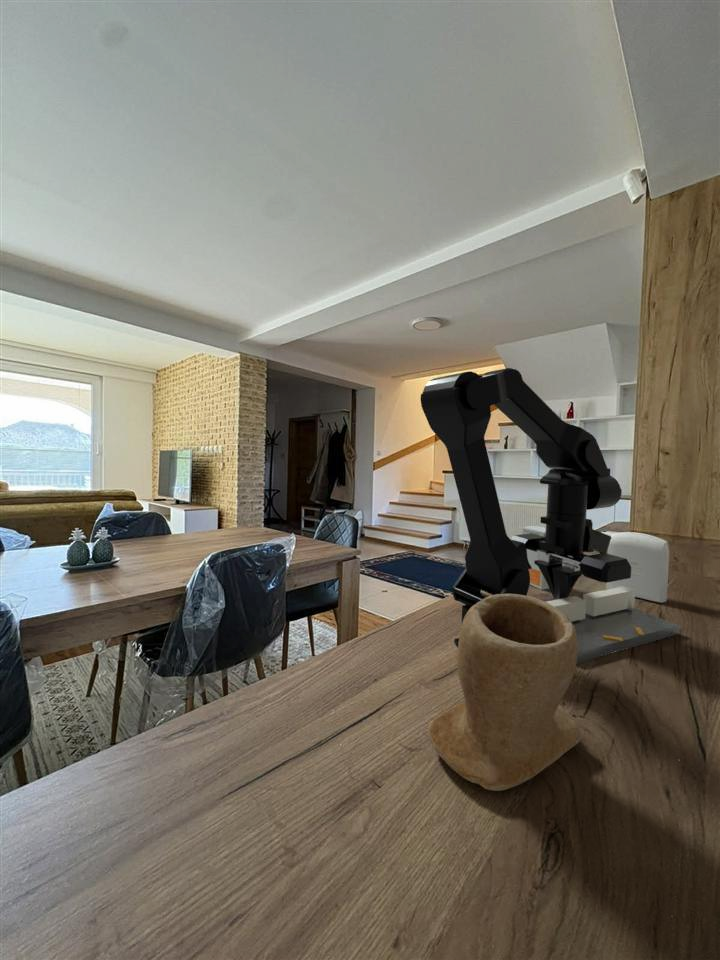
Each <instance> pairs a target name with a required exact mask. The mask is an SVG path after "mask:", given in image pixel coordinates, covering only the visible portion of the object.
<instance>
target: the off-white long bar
mask: <svg viewBox="0 0 720 960" xmlns="http://www.w3.org/2000/svg"><path fill="white" fill-rule="evenodd" d="M635 598H636V597H635V590H633V589H631V588H628V587H624V586H623V587H617V588H613V589H608V590H607V589H603V590H598V591H594V592H588V593H583V597H582V599H584V600H586V614H589V615H591V616H598V615H602V614H606V613H611V612H615V611H619V610H624V609H631V608H633V609H634V608H635V602H636V601H635Z"/></svg>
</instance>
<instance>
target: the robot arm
mask: <svg viewBox="0 0 720 960" xmlns="http://www.w3.org/2000/svg"><path fill="white" fill-rule="evenodd" d="M420 404H421V410H422V411H423V413H424V416H425V418H426V421H427V423H428V426H429V427H430V429H431V431H432V432H433V433H434V434H435V435H436V436H437V437H438V439H439V440H440V441H441V442H442V443H443V444H444V446H445V447H446V452H447V454H448V459H449V463H450V466H451V470H452V473H453V474H452V475H453V478H454V482H455V486H456V490H457V493H458V496H459V497H458V498H459V500H460V504H461V508H462V512H463V516H464V521H465V525H466V527H467V531H468V536H469V541H470V542H469V544H468V548H467V550H466V552H465V556H464V560H465V561H464V562H465V568H464V570H463V571H462V573H461V574H460V576H459V577H458V579H457V580H456V581H455V583H454V584H453V585H452V587H451V592H452V596H453V600H454V601H455V602H460V603H462V604H464V605H462V606H461V623H462V622H463V619H464V617H465V615H466V614H467V612H468V610H469V609H470V608H471V607H472V606H473V605H475V604H476V603H478V602H479V601H481V600H482V599H484V598H486V597H489V596H490V595H491V596H492V595H496V594H518V595H525V596H528V592H529V588H530V586H531V585H530V573H529V570H528V569H531V568H532V567H531V565H530V564H529V561H528V557H527V549H529V550H532V551H535V552H538V560H536V561H534V564H535V565H537V566H538V567H539V569H540V571H541V573H542V574H543V576H544V578H545V580H546V582H547V584H548V586H549V588H548V589H549V591H550V593H551V595H552V597H553V600H557V599H562V598H568V597H570V594H571V592H572V591H573V588H574V586H575V585H576V583H577V581H578V580H579V579H580V577H582V576H583V577H584V578H588V579H591V580H594V581H597V582H600V583H604V584H606V583H608V582H613V581H618V580H623V579H629V578H631V565H630V563H629V562H628V560H627V559H625V558H621V557H618V556H614V555H610V554H608V547H609V543H610V540H611V535H608V534H606V533H604V532H601V531H598V530H596V529H593V526H594V524H593V519H590V518H587V510H589V511H590V510H596V509H607V508H611V507H614V506H615V505H616V504H617V503H618V502H619V501H620V499H621V498H622V497H621V496H622V493H623V492H622V488H621V484H620V483H619V481H618V480H617V479H616V478H615V477H614V476H611V468H608V466H607V464H606V462H605V458H604V455H603V453H602V451H601V447H600V446H599V443H598V441H597V439H596V438H595V436H594V435H593V434H592V433H590V432H588V431H587V430H586V429H585V428H583V427H580V426H577V425H575V424H571V423H568V422H566V421H564V420H563V419H562V418H560V416H559V415H557V413H555V411H554V410H552V408H551V407H550V406H549V405H548V404H547V403H546V402H545V401H544V400H543V399H542V398H541V397H540V396H539V395H538V394H537V393H536V392H535V391H534V390H533V389H532V388H531V387H530V386H529V385H528V384H527V383H526V382H525V381H524V380H523V376H522V374H521V371H519V370H518V369H516V368H512V367H507V368H502V369H501V368H500V369H496V370H491V371H487V372H485V373H484V374H481V375H480V374H478V373H477V372H473V371H470V370H469V371H464V372H460V373H455V374H449V375H444V376H440V377H435V378H432V379H431V380H429V381H428V382H427V383H426V384H425V385H424V387H423V390H422V392H421V393H420ZM491 406H494V407H496V408H497V409H498V411H500V412H502V413H503V414H504V415H505V416H506V417H507V418H508V419H509V420H510V421H511V422H512V423H513V424H515V426H517V427H518V428H519V429H520V430H521V431H522V432H523V433H524V434H526V436H528V437H529V438H530V439H531V440H532V442H534V444H535V445H536V446H535V452H536V454H537V456H538V457H539V458H540V460H541V461H542V463H543V464H544V465H545V466H546V468H549V470H548V472H547V473H546V474H545V475H543V476H542V477H541V478H540V480H539V483H540V484H541V485H547V498H546V499H547V500H546V502H547V503H546V516H544V515H543V516H540V524H543V525H545V528H546V533H545V537H544V536H540V535H536V534H533V533H530V534H522V533H520V534H514V535H512V536H511V538H510V537H509V536H508V534H507V531H506V527H505V522H504V518H503V514H502V510H501V505H500V500H499V497H498V493H497V488H496V483H495V479H494V475H493V472H492V467H491V462H490V459H489V458H490V457H489V454H488V450H487V445H486V442H485V441H486V440H485V436H486V433H487V430H488V427H489V423H490V421H491V417H492V413H491V411H492V410H491ZM594 552H597V554H596V553H595V554H589V553H594ZM585 553H588V554H589V555H588V554H585ZM482 591H483V592H485V593H487V594H484V593H483V592H482ZM488 594H490V595H488ZM453 642H454V645H456V646H458V644H459V637H457V638H454V640H453Z"/></svg>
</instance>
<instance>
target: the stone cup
mask: <svg viewBox="0 0 720 960" xmlns="http://www.w3.org/2000/svg"><path fill="white" fill-rule="evenodd" d="M488 596H489V597H486V598H484V599H482V600H481V601H479V602H478V603H476V604H475V605H473V606H472V607H471V608H470V609H469V610H468V612H467V614H466V615H465V617H464V619H463V622H462V621H461V626H460V633H459V637H458V638H459V644H458V645H457V657H456V659H457V671H458V679H459V682H460V686H461V689H462V692H463V698H464V701H462V702H460V703H458V704H456V705H454V706H452V707H450V708H448V709H447V710H445V711H443V712H442V713H440V714H438V715H437V716H436V717H435V718H434V719H432V720H431V722H429V724H428V727H427V733H428V738H429V740H430V743H431V745H432V747H433V748H434V750H435V752H436V753H437V754H438V755H439V757H440V758H441V759H442V760H443V761H444V763H446V764H447V766H448V767H450V768H451V769H452V770H453V771H454V772H456V774H458V775H459V776H460V777H461V778H463V779H465V780H467V781H469V782H471V783H473V784H477V785H480V787H482V788H484V789H485V790H488V791H493V792H495V791H496V792H499V791H500V792H501V791H506V790H508V789H511V788H515V787H516V786H520V785H521V784H523V783H525V782H527V781H529V780H531V779H532V778H534V777H535V776H537V775H538V774H539V773H541V772H542V771H544V770H545V769H546V768H548V767H549V766H551V765H552V764H554V763H555V762H556V761H557V760H558V759H560V758H561V757H562V756H563V755H565V753H567V752H568V751H569V750H571V749H572V748H574V747H575V746H576V745H578V744H579V743H580V741H581V740H582V739H583V738H584V737H583V734H582V731H581V729H580V728H579V727H578V725H577V722H576V721H574V720H573V719H572V718H571V716H570V715H569V714H568V712H567V711H566V710H565V709H564V707H562V706H561V705H560V703H561V701H562V699H563V697H564V695H565V693H566V691H568V690H567V689H569V687H570V685H571V682H572V680H573V677H574V674H575V672H576V666H577V664H578V663H577V648H578V639H577V634H576V630H575V627H574V626H573V624H572V623H571V621H570V620H569V619H568V618H567V617H566V616H565V615H564V614H563V613H562V612H561V611H560V610H559V609H557V608H556V607H554V606H552V605H550V604H549V603H547V601H545V600H542V599H539V598H536V597H535V596H534V597H533V596H529V595H527V596H525V595H518V594H496V595H492V594H491V595H488ZM576 663H577V664H576Z"/></svg>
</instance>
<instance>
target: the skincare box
mask: <svg viewBox="0 0 720 960" xmlns="http://www.w3.org/2000/svg"><path fill="white" fill-rule="evenodd" d="M530 533H533V534H536V535H540V536H544V537H545V533H546V527H542V526H539V525H527V526H522V527H521V534H530ZM527 557H528V561H529V564H530V565H531V567H532V568H531V569H528V570H529V573H530V585H529V586H532V587H534V588H537V589H539V590H543V591H544V590H548V589H550V588H549V586H548V584H547V582H546V580H545V578H544V576H543V574H542V573H541V571H540V569H539V567H538V566H537V565H535V564H534V561H536V560H538V552H535V551H532V550H529V549H527Z"/></svg>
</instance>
